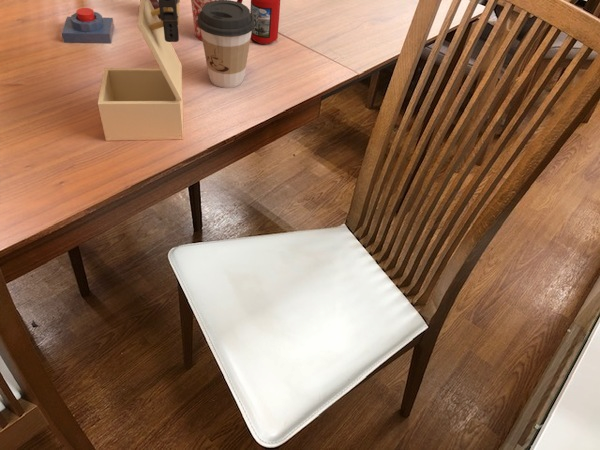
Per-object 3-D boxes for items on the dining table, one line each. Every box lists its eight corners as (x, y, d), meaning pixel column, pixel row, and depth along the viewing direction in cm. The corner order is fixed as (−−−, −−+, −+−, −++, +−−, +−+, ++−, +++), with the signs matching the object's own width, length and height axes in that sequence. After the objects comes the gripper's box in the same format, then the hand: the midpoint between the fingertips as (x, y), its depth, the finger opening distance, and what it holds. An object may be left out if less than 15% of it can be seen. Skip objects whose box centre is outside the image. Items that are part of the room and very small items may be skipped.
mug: (196, 46, 117) (192, -14, 107) (186, 28, 123) (183, -31, 113) (248, 41, 121) (249, -17, 111) (237, 23, 127) (237, -33, 117)
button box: (63, 42, 112) (59, 25, 110) (69, 25, 118) (65, 8, 115) (111, 43, 114) (107, 26, 111) (114, 26, 120) (111, 9, 117)
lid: (137, 25, 77) (171, 13, 76) (141, -7, 84) (172, -18, 84) (177, 101, 87) (208, 91, 87) (177, 66, 95) (206, 57, 95)
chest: (105, 140, 91) (97, 103, 85) (111, 104, 99) (104, 67, 93) (183, 139, 93) (180, 103, 88) (183, 103, 101) (180, 68, 95)
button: (76, 22, 112) (75, 14, 111) (79, 15, 114) (77, 7, 113) (94, 22, 113) (92, 15, 111) (95, 15, 115) (94, 7, 114)
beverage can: (243, 37, 122) (244, -14, 113) (264, 30, 126) (267, -20, 117) (262, 48, 119) (265, -3, 111) (283, 41, 123) (287, -10, 114)
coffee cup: (190, 84, 106) (185, 14, 95) (214, 60, 113) (212, -8, 103) (239, 99, 104) (240, 28, 93) (261, 73, 112) (264, 6, 101)
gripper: (137, -99, 76) (150, 11, 88) (130, -66, 66) (147, 52, 79) (188, -97, 77) (194, 12, 89) (189, -64, 68) (196, 53, 80)
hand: (172, 30), depth 84 cm, fingers closed on lid, 6 cm apart
